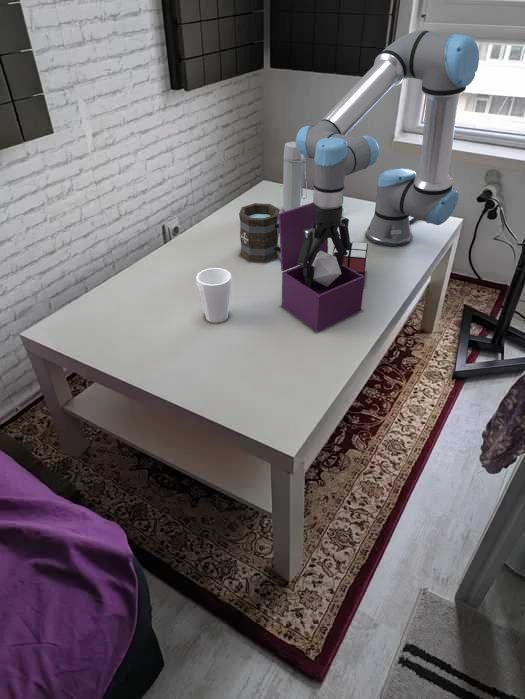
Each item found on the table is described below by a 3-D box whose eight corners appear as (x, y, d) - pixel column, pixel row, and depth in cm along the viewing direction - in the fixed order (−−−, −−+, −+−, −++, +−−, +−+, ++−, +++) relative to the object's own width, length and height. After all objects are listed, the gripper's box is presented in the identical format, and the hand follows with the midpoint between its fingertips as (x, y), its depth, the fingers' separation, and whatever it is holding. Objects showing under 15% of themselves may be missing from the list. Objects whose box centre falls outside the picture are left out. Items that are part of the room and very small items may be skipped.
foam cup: (238, 310, 155) (236, 270, 147) (226, 328, 148) (223, 288, 140) (208, 304, 157) (204, 265, 149) (194, 322, 150) (190, 282, 142)
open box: (360, 310, 154) (365, 276, 147) (316, 331, 146) (319, 296, 139) (324, 288, 164) (326, 254, 157) (281, 306, 156) (282, 272, 149)
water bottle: (281, 213, 206) (282, 147, 191) (284, 205, 212) (285, 140, 197) (305, 215, 205) (307, 148, 190) (307, 206, 211) (310, 141, 196)
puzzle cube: (362, 287, 163) (366, 258, 157) (330, 284, 165) (332, 255, 159) (364, 271, 171) (368, 242, 165) (333, 268, 173) (335, 240, 167)
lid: (328, 198, 147) (326, 197, 147) (280, 214, 139) (278, 213, 140) (328, 253, 156) (326, 253, 157) (282, 271, 148) (281, 270, 149)
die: (310, 273, 154) (297, 256, 146) (338, 258, 152) (327, 239, 143) (320, 296, 150) (307, 280, 142) (349, 281, 148) (338, 263, 139)
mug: (232, 256, 180) (230, 214, 171) (253, 240, 189) (252, 199, 180) (283, 271, 172) (284, 228, 163) (303, 253, 181) (304, 211, 172)
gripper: (349, 188, 143) (343, 263, 157) (283, 210, 133) (283, 287, 146) (370, 197, 138) (361, 273, 152) (303, 220, 128) (300, 299, 142)
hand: (323, 280), depth 149 cm, fingers closed on die, 10 cm apart
